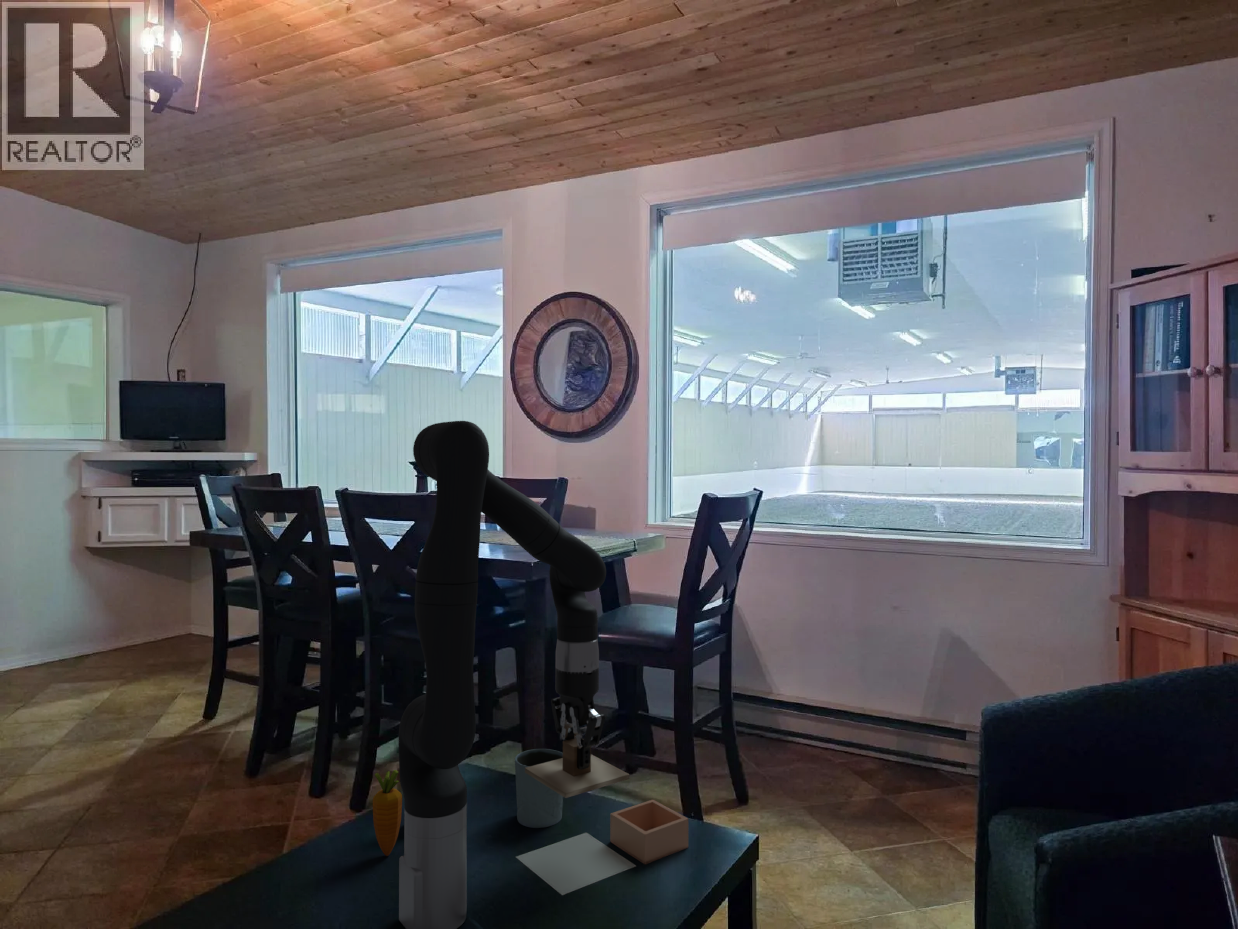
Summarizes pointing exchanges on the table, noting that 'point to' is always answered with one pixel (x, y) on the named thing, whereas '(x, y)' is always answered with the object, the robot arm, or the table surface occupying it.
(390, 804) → the carrot
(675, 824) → the open square box
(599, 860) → the tray
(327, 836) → the table surface
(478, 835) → the table surface
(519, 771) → the grey cup
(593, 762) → the lid
